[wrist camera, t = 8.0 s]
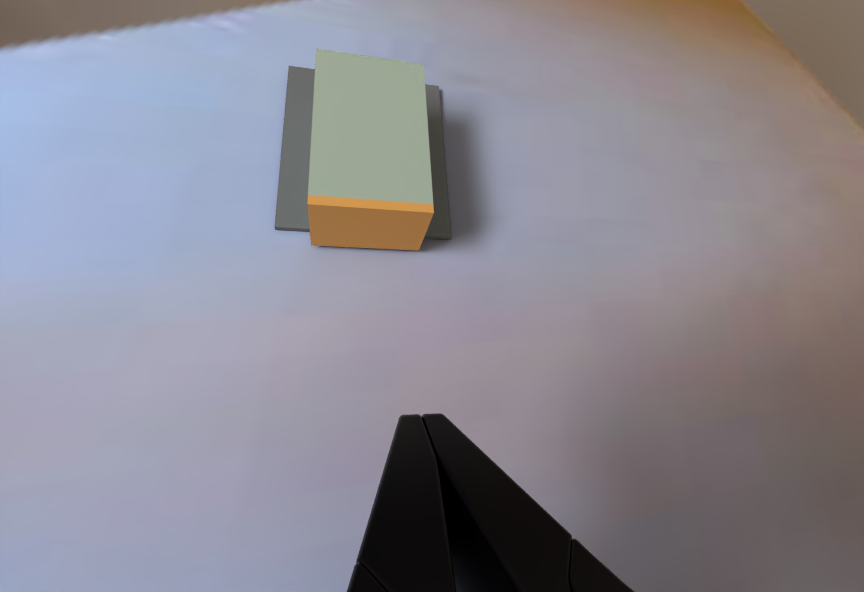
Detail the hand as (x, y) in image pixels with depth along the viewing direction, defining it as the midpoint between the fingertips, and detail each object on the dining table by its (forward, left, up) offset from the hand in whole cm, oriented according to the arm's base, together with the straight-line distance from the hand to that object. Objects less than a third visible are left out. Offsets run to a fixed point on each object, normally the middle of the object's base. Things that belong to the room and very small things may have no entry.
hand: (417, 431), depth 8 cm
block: (+10, +3, -11) cm, 15 cm away
